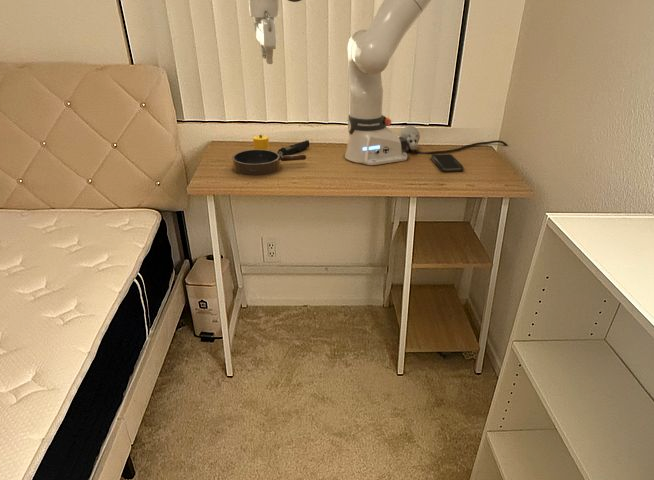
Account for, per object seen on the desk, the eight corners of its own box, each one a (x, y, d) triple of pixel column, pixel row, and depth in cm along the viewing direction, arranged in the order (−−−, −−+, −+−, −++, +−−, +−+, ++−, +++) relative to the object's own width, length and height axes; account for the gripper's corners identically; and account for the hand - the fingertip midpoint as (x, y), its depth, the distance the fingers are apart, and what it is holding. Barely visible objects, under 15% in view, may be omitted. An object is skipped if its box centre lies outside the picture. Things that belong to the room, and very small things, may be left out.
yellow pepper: (268, 150, 204) (267, 132, 200) (270, 155, 200) (269, 136, 196) (253, 151, 203) (251, 133, 199) (255, 156, 199) (253, 137, 195)
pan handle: (305, 158, 192) (305, 153, 191) (306, 160, 190) (306, 155, 189) (279, 160, 190) (279, 155, 189) (280, 162, 188) (280, 156, 187)
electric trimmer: (312, 149, 207) (312, 140, 205) (283, 159, 197) (283, 149, 195) (304, 147, 208) (304, 138, 207) (275, 157, 198) (275, 147, 197)
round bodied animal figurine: (402, 157, 200) (404, 133, 195) (397, 147, 210) (399, 123, 205) (422, 157, 201) (424, 132, 196) (416, 147, 210) (418, 123, 205)
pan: (276, 159, 196) (275, 148, 194) (283, 174, 184) (283, 162, 182) (231, 162, 193) (230, 151, 190) (236, 178, 181) (234, 165, 178)
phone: (442, 168, 188) (430, 154, 199) (442, 172, 188) (430, 157, 200) (464, 168, 189) (451, 154, 200) (464, 171, 189) (451, 157, 201)
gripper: (279, 13, 161) (282, 66, 170) (269, 6, 177) (272, 55, 186) (258, 14, 160) (262, 67, 169) (249, 6, 176) (253, 55, 184)
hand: (267, 60), depth 177 cm, fingers open, 8 cm apart
